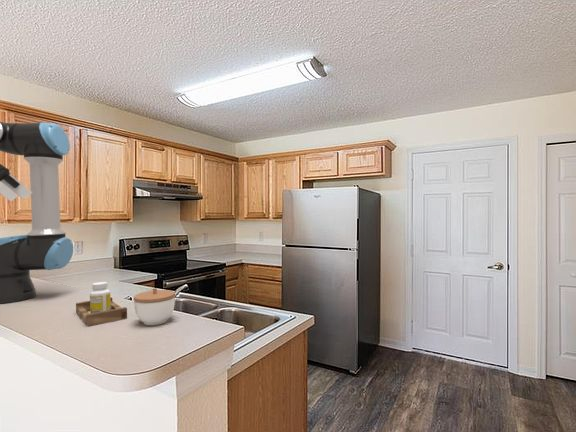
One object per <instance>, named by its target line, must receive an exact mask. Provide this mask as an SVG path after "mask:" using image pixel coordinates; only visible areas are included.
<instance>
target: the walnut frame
mask: <svg viewBox="0 0 576 432" xmlns="http://www.w3.org/2000/svg"><path fill="white" fill-rule="evenodd" d="M110 299H111V310H107V311H102V312H97V313H90V300H86V301H85V300H84V301H79V302H75V313H76V315H77V316H78V317H79V319H81V321H82V322H83V323H84V324H85V325H86V326H87V327H93V326H97V325H102V324H107V322H108V323H111V322H112V323H113V322H117V321H120V320H121V321H122V320H125V319H126V320H127V319H128V307H126V306H123V307H121V306H120V305H118V303H116V302H114V301H113V297H111V296H110Z"/></svg>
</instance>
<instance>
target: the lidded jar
mask: <svg viewBox="0 0 576 432" xmlns="http://www.w3.org/2000/svg"><path fill="white" fill-rule="evenodd" d="M175 297H176V292H175V290H171V289H158V288H157V287H156V288H155V287H154V288H153V287H152V290H149V291H142V292H140V293H137V294H135V295H134V296H133V301H134V303H133V304H134V310H135V315H136V316H137V318H138V319H139V320H140V322H142V323H143V325H145V326H157V325H162V324H164V323H166V322H167V321H168V319H169V318H170V317H171V316H172V314H173V312H174V309H175V306H176V305H175V304H176V303H175V302H176V300H175V299H176V298H175Z"/></svg>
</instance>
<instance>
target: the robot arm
mask: <svg viewBox="0 0 576 432" xmlns="http://www.w3.org/2000/svg"><path fill="white" fill-rule="evenodd" d="M70 145H71V144H70V140H69V137H68V134H67V132H66V131H65V130H64V129H63V128H62V126H60V125H59V124H57V123H54V122H24V123H23V122H21V123H20V122H19V123H18V122H3V121H0V152H3V153H6V154H10V155H14V156H23V159H24V160H25V161H26V162H27V163H28V164H29V181H30V182H29V183H30V186H29V187H30V188H28V187H27V186H26V185H25V184H23V183H22V182H21V181H20V180H18V179H17V178H16V177H15V176H13V175H12V174H11V172H10V169H9V168H7V167H6V166H4V165H3V164H1V163H0V195H2V196H3V197H4V198H5V199H6V200H7V201H9V202H11V203H12V201H13V200H15V199H17V198H18V197H20V198H21V200H25V199H27V198H28V197H29V196H30V206H31V207H30V208H31V209H30V213H31V230H30V231H28V233H27V234H21V235H12V236H4V237H0V304H7V303H9V304H10V303H16V302H21V301H25V300H29V299H32V298H34V297H36V296H37V289H36V287H35V285H34V283H33V280H32V277H31V276H30V274H31V273H30V271H41V270H43V271H44V270H45V271H46V270H47V271H51V270H53V271H54V270H60V269H64V268H65V267H66V266H67V265H68V264H69V263H70V261H71V260H72V257H73V254H74V244H73V242H72V240H71V239H70V238H68V237H67V236H66V232H65V231H64V230H63V229H62V228H61V212H60V211H61V210H60V208H61V207H60V206H61V205H60V177H59V176H60V175H59V165H60V164H61V163H62V162H63V161H64V159H63V158H64V156H65V155H67V154H68V153H69V151H70V148H71V146H70Z"/></svg>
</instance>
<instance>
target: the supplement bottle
mask: <svg viewBox="0 0 576 432" xmlns="http://www.w3.org/2000/svg"><path fill="white" fill-rule="evenodd" d="M91 287H92V288H91V289H92V291H90V292H89V301H90V311H89V314H91V313H97V312H102V311H107V310H111V299H110V297H111V290H110V289H108V282H107V281H99V282H93V283H92V284H91Z"/></svg>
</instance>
